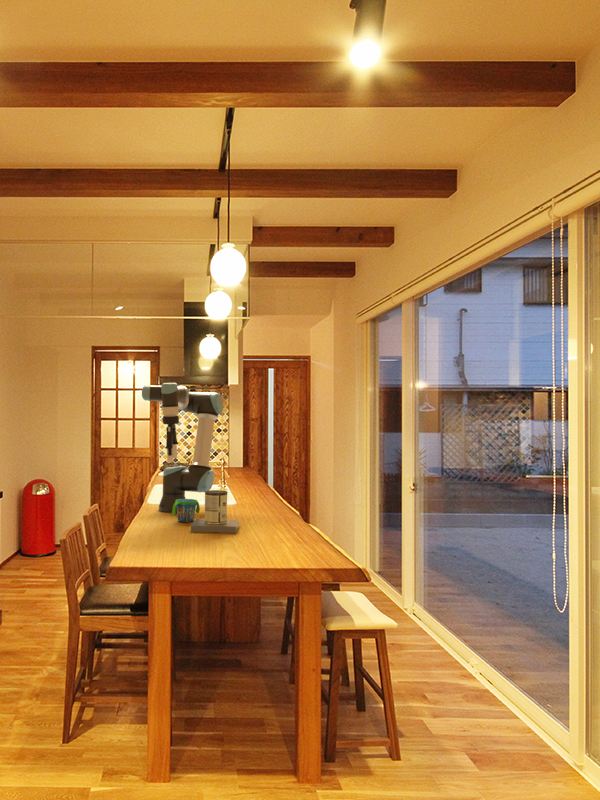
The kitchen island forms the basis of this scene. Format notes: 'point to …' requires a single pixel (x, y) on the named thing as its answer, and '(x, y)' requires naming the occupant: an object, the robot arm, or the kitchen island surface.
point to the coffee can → (215, 507)
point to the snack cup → (185, 509)
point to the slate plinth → (214, 526)
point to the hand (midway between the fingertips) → (172, 460)
